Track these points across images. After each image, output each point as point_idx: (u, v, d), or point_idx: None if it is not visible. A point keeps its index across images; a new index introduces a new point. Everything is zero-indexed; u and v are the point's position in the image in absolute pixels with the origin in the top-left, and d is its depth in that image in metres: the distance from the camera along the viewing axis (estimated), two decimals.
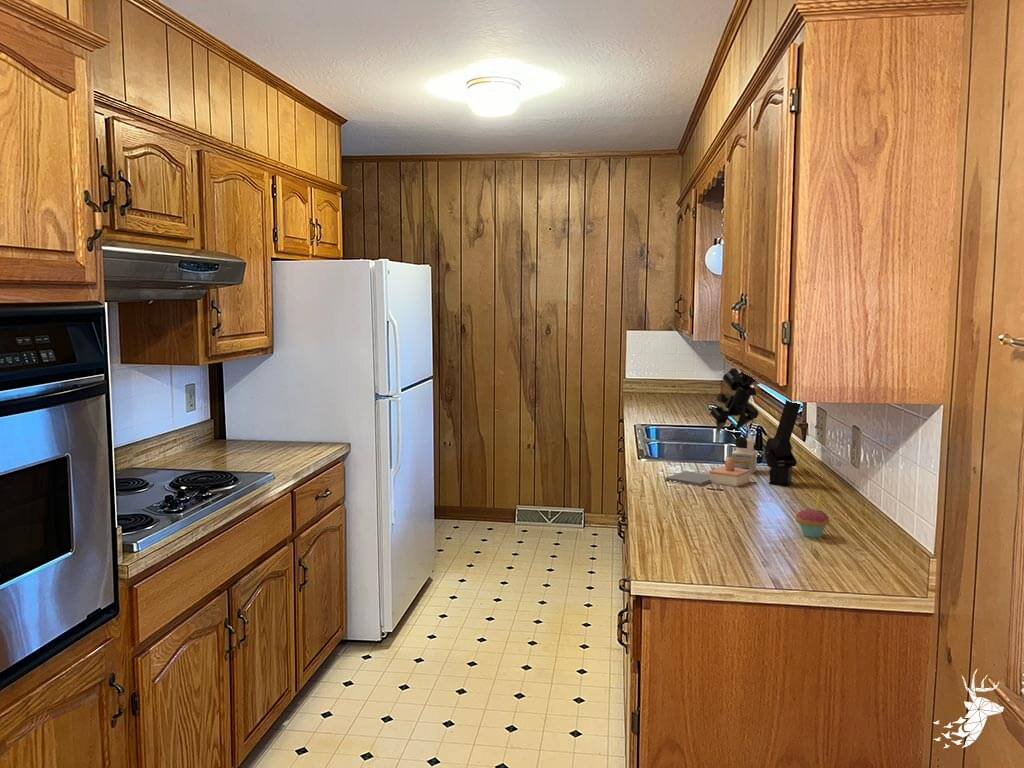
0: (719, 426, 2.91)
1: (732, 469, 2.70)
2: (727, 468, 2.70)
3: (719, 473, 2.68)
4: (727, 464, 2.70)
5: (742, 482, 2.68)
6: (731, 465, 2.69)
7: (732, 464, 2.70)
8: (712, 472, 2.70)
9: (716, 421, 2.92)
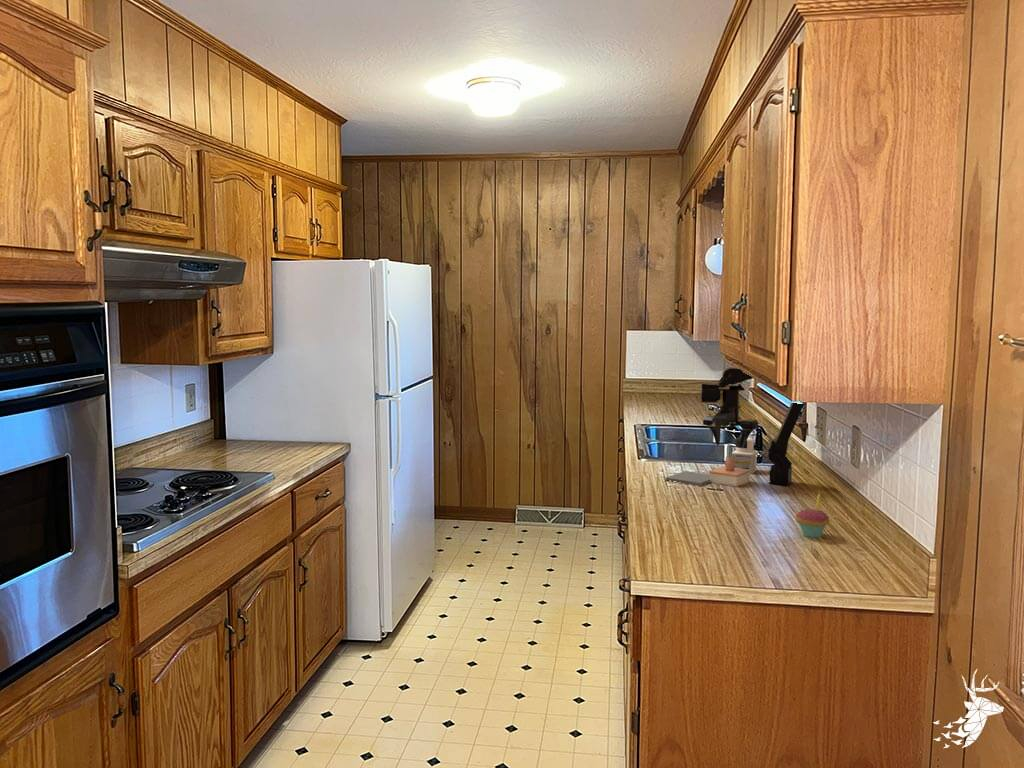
0: (746, 438, 2.67)
1: (732, 469, 2.70)
2: (727, 468, 2.70)
3: (719, 473, 2.68)
4: (727, 464, 2.70)
5: (742, 482, 2.68)
6: (731, 465, 2.69)
7: (732, 464, 2.70)
8: (712, 472, 2.70)
9: (744, 437, 2.65)
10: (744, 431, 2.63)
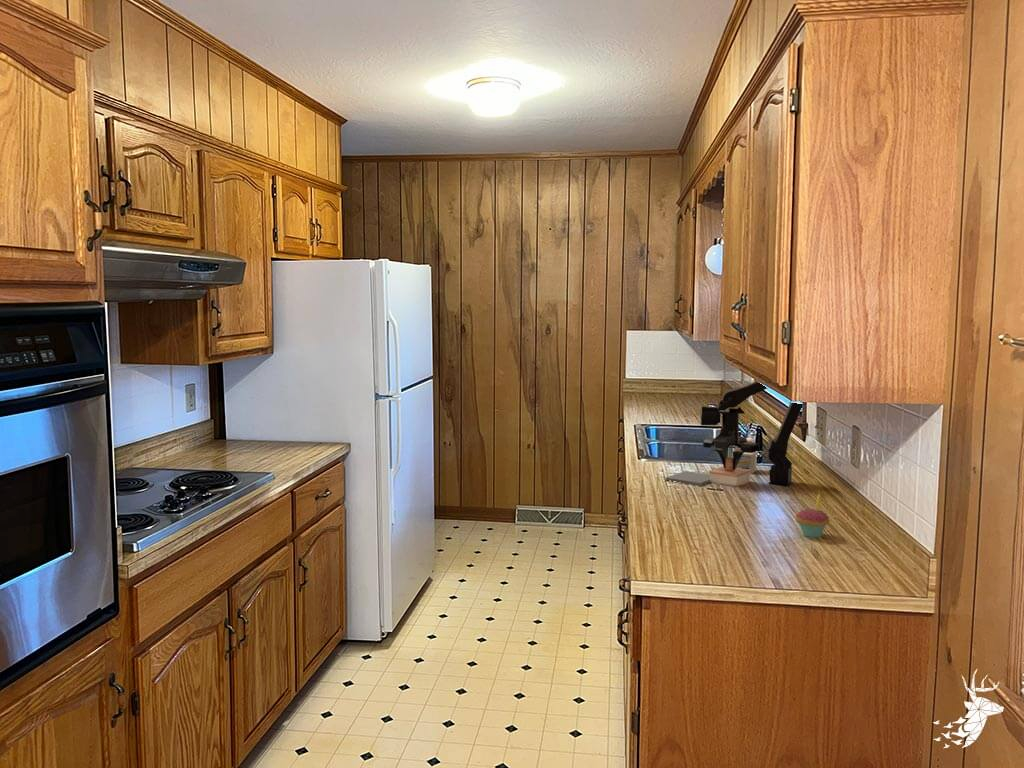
0: (738, 460, 2.70)
1: (732, 469, 2.70)
2: (727, 468, 2.70)
3: (719, 473, 2.68)
4: (727, 464, 2.70)
5: (742, 482, 2.68)
6: (731, 465, 2.69)
7: (732, 464, 2.70)
8: (712, 472, 2.70)
9: (736, 459, 2.68)
10: (736, 453, 2.66)
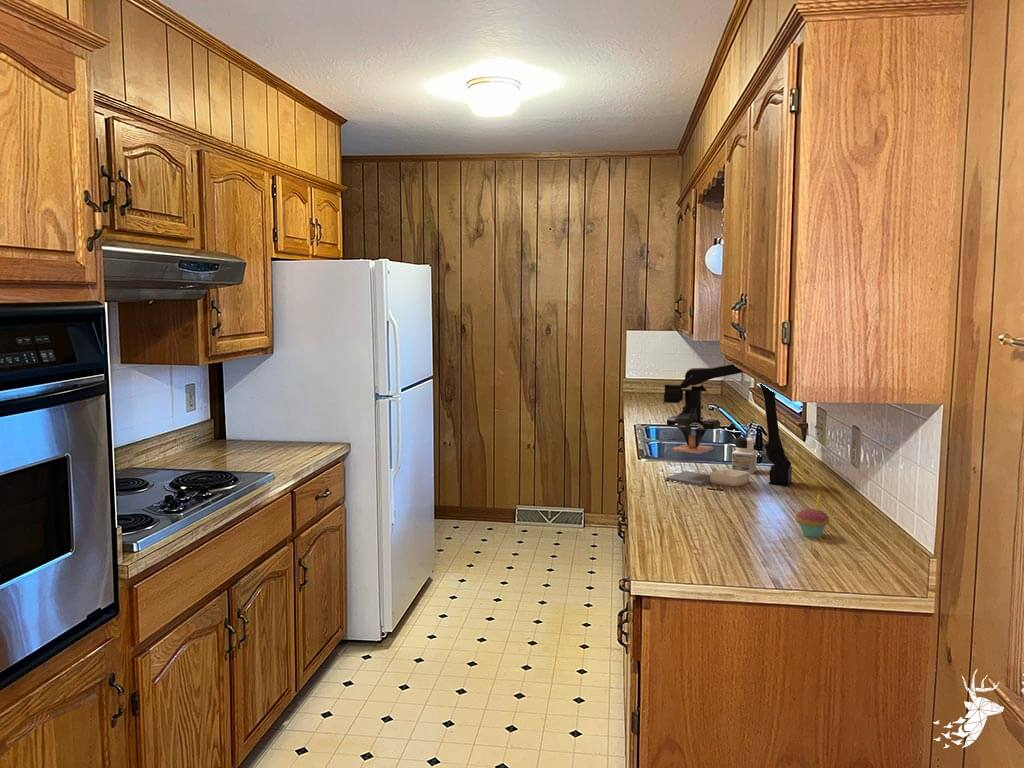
0: (701, 437, 2.73)
1: (695, 446, 2.73)
2: (690, 445, 2.74)
3: (682, 450, 2.72)
4: (690, 441, 2.73)
5: (742, 482, 2.68)
6: (694, 442, 2.73)
7: (695, 441, 2.73)
8: (675, 449, 2.73)
9: (699, 436, 2.71)
10: (698, 430, 2.70)
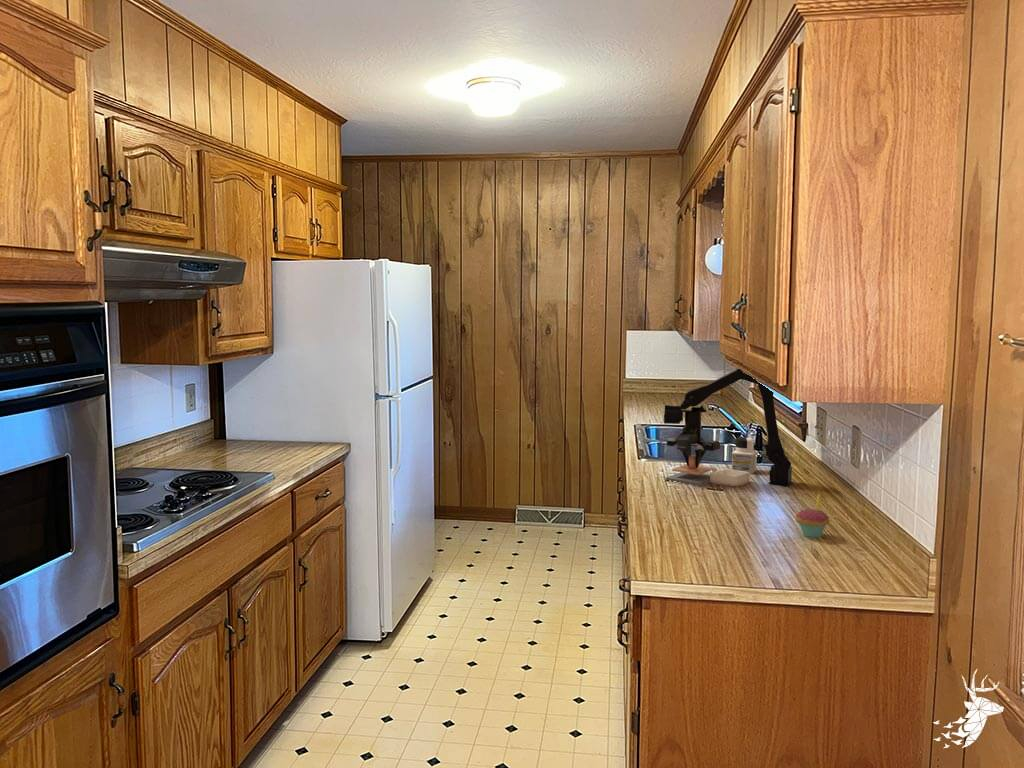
0: (701, 458, 2.74)
1: (695, 467, 2.74)
2: (690, 466, 2.74)
3: (682, 471, 2.72)
4: (690, 462, 2.74)
5: (742, 482, 2.68)
6: (694, 463, 2.74)
7: (695, 462, 2.74)
8: (675, 470, 2.74)
9: (699, 457, 2.72)
10: (698, 451, 2.70)
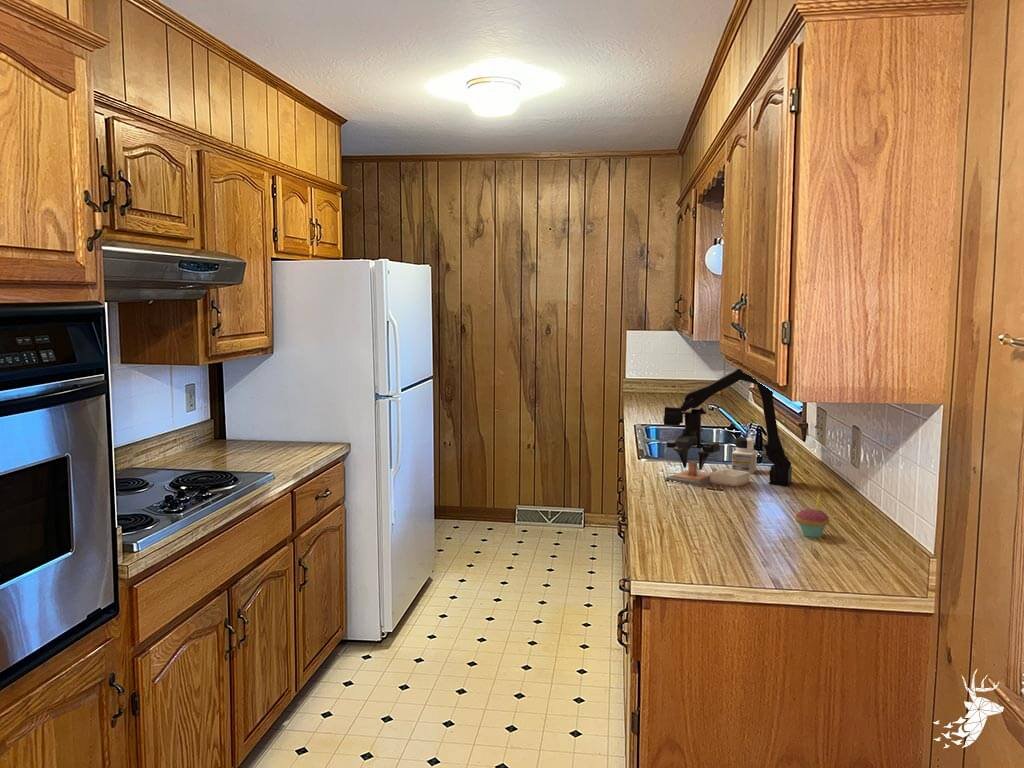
0: (704, 460, 2.73)
1: (695, 473, 2.74)
2: (690, 472, 2.75)
3: (682, 477, 2.73)
4: (690, 468, 2.74)
5: (742, 482, 2.68)
6: (694, 469, 2.74)
7: (695, 468, 2.74)
8: (675, 476, 2.74)
9: (702, 459, 2.71)
10: (702, 454, 2.69)
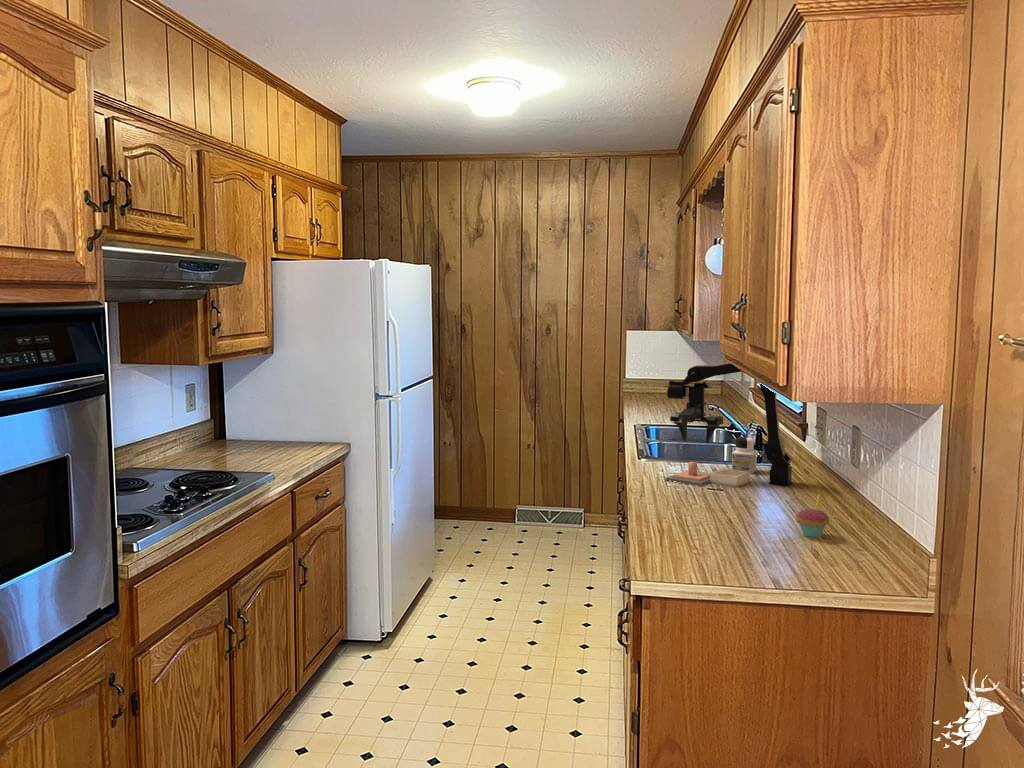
0: (712, 434, 2.77)
1: (695, 473, 2.74)
2: (690, 472, 2.75)
3: (682, 477, 2.73)
4: (690, 468, 2.74)
5: (742, 482, 2.68)
6: (694, 469, 2.74)
7: (695, 468, 2.74)
8: (675, 476, 2.74)
9: (709, 433, 2.75)
10: (709, 427, 2.73)
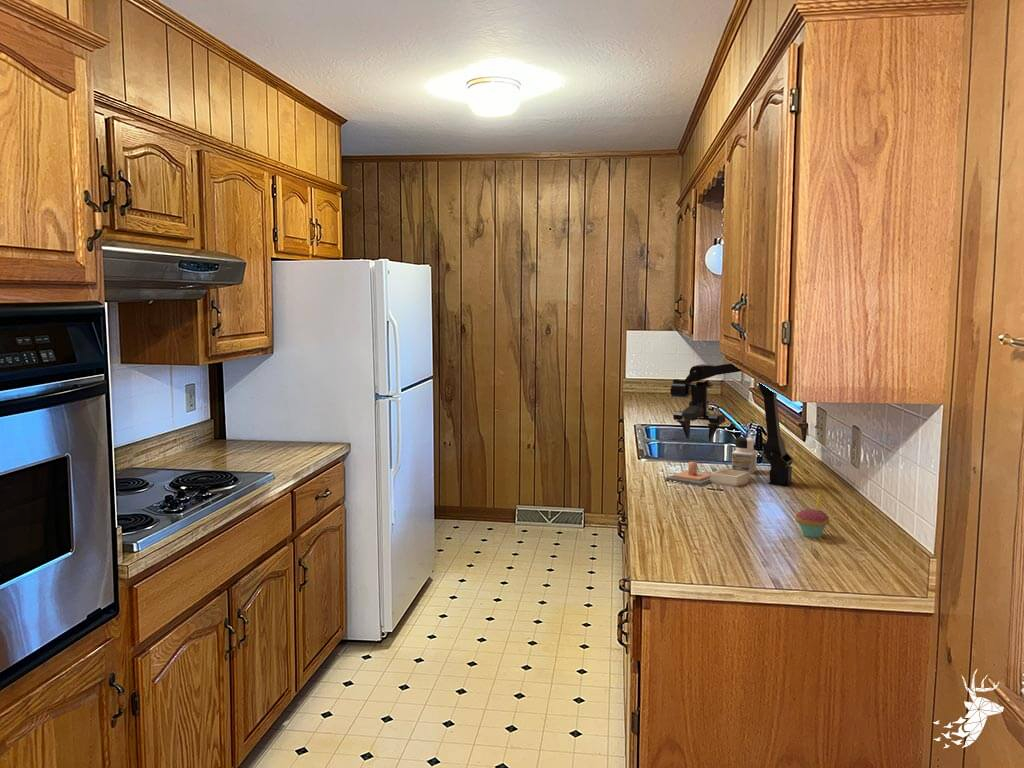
0: (714, 432, 2.81)
1: (695, 473, 2.74)
2: (690, 472, 2.75)
3: (682, 477, 2.73)
4: (690, 468, 2.74)
5: (742, 482, 2.68)
6: (694, 469, 2.74)
7: (695, 468, 2.74)
8: (675, 476, 2.74)
9: (712, 431, 2.79)
10: (712, 425, 2.77)
